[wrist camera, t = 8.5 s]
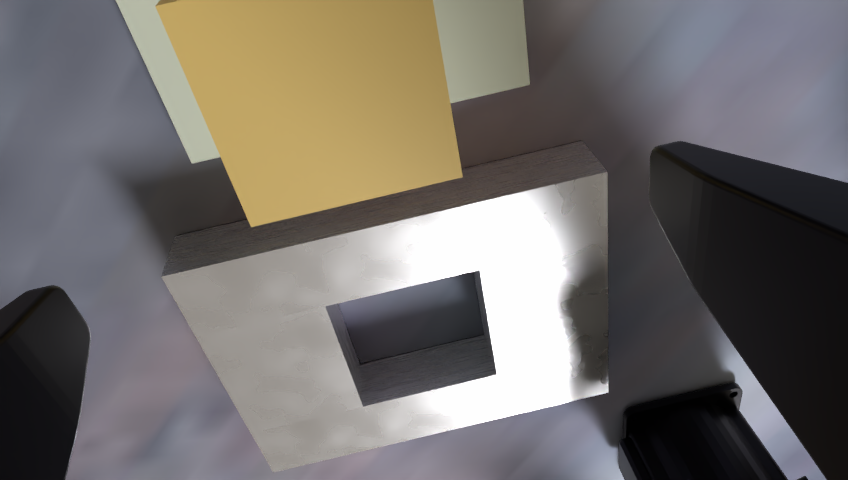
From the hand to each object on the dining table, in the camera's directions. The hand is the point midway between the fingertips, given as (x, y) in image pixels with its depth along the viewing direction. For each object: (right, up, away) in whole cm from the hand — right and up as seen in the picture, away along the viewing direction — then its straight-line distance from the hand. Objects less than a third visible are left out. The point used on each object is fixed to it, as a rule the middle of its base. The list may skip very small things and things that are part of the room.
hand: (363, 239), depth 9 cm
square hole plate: (0, -3, +18) cm, 18 cm away
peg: (-2, +8, +9) cm, 12 cm away
